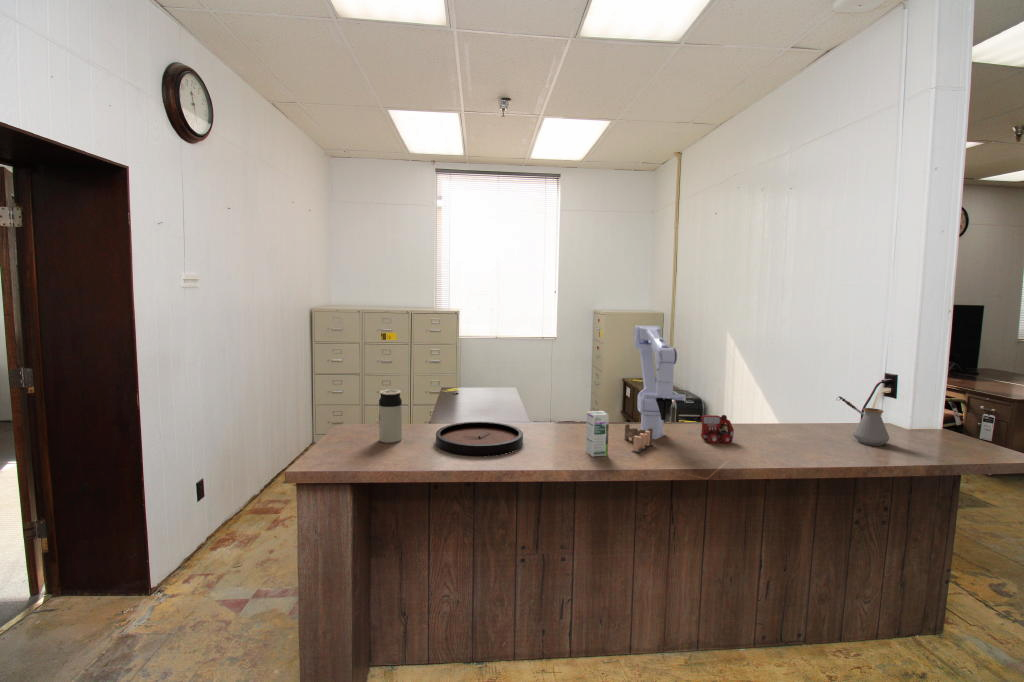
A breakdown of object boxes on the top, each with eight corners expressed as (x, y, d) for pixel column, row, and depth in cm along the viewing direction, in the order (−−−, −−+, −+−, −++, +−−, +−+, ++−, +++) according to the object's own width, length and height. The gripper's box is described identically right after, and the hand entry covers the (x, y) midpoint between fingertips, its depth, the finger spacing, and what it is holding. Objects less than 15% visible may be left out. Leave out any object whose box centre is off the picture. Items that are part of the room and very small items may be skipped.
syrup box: (592, 457, 171) (593, 414, 170) (585, 451, 177) (586, 410, 175) (607, 456, 172) (609, 413, 171) (600, 450, 178) (601, 409, 177)
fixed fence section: (625, 439, 191) (626, 423, 191) (652, 444, 185) (653, 428, 184) (623, 440, 190) (624, 424, 190) (650, 445, 184) (651, 429, 183)
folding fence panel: (646, 444, 184) (646, 430, 184) (649, 445, 183) (650, 431, 183) (633, 450, 176) (633, 436, 176) (636, 451, 175) (637, 437, 175)
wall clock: (462, 451, 163) (421, 428, 188) (462, 463, 163) (421, 439, 189) (540, 437, 180) (493, 417, 206) (540, 448, 181) (493, 427, 206)
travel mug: (404, 437, 189) (404, 389, 187) (397, 443, 181) (397, 394, 179) (383, 436, 190) (383, 388, 188) (375, 442, 182) (375, 393, 180)
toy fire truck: (737, 445, 188) (739, 417, 187) (704, 445, 188) (706, 417, 186) (728, 439, 195) (729, 413, 194) (696, 439, 194) (698, 412, 193)
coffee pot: (896, 446, 191) (900, 407, 189) (872, 448, 188) (875, 408, 186) (846, 431, 211) (849, 395, 210) (823, 432, 208) (826, 396, 207)
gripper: (644, 382, 178) (643, 421, 179) (688, 384, 175) (686, 423, 176) (642, 379, 185) (641, 416, 186) (684, 381, 182) (682, 418, 183)
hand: (663, 419), depth 182 cm, fingers closed
